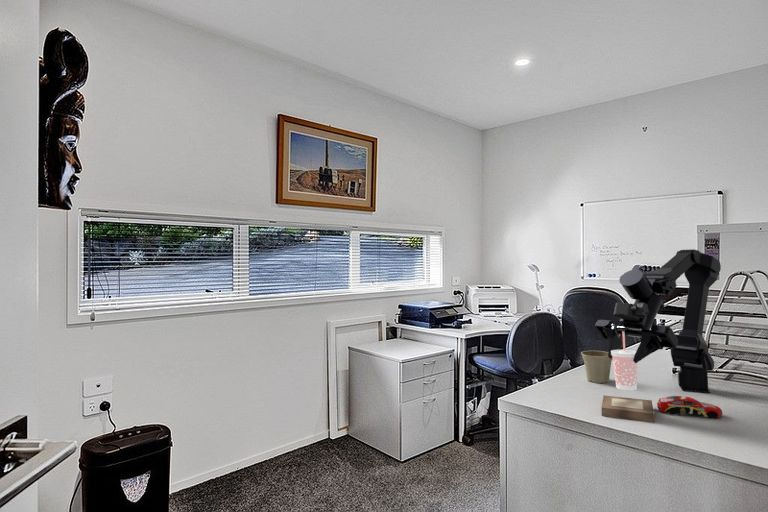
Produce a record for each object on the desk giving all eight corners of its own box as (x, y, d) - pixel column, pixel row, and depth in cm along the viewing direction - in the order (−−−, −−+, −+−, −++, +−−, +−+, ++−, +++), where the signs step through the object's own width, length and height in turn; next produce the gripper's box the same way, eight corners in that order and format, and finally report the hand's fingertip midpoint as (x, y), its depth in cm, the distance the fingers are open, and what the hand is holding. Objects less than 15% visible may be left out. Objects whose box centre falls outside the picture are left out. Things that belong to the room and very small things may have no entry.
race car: (719, 414, 108) (719, 397, 108) (725, 421, 104) (724, 404, 104) (656, 407, 114) (656, 392, 114) (658, 414, 109) (658, 397, 110)
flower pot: (621, 384, 136) (619, 356, 136) (589, 385, 136) (588, 356, 136) (606, 376, 145) (605, 350, 145) (577, 377, 145) (575, 351, 145)
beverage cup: (611, 383, 115) (608, 329, 116) (638, 385, 113) (635, 330, 113) (613, 390, 110) (610, 333, 110) (642, 391, 107) (639, 333, 108)
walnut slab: (651, 408, 113) (651, 399, 113) (654, 422, 104) (653, 413, 104) (603, 402, 119) (603, 395, 119) (601, 415, 109) (601, 407, 109)
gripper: (596, 290, 122) (573, 335, 116) (669, 292, 106) (646, 344, 100) (615, 316, 126) (593, 361, 120) (687, 322, 110) (666, 374, 104)
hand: (621, 359), depth 111 cm, fingers closed on beverage cup, 6 cm apart
